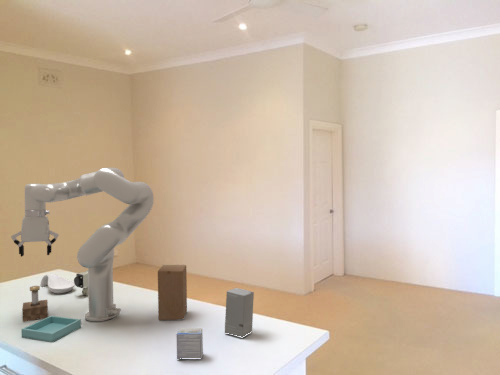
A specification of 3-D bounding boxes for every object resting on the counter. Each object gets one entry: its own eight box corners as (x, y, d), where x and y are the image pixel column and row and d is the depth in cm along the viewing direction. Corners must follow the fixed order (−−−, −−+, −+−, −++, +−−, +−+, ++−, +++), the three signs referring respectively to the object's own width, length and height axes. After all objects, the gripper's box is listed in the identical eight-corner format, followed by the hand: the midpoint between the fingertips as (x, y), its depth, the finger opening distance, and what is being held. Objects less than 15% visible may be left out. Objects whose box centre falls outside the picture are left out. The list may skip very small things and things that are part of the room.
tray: (80, 327, 156) (80, 319, 156) (52, 342, 143) (52, 333, 143) (51, 323, 160) (51, 315, 160) (21, 337, 147) (21, 329, 147)
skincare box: (224, 334, 148) (223, 291, 147) (235, 327, 154) (235, 286, 153) (243, 339, 144) (243, 295, 143) (254, 332, 149) (254, 290, 149)
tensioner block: (47, 311, 174) (47, 299, 174) (48, 317, 166) (47, 305, 166) (23, 314, 170) (23, 302, 170) (22, 321, 162) (22, 309, 162)
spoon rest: (79, 291, 202) (79, 277, 202) (56, 297, 193) (55, 282, 192) (55, 283, 216) (54, 270, 216) (32, 288, 207) (32, 274, 207)
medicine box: (203, 353, 133) (202, 327, 133) (201, 360, 129) (201, 333, 128) (178, 354, 133) (178, 328, 132) (176, 360, 128) (176, 333, 128)
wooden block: (183, 320, 162) (182, 270, 161) (158, 320, 162) (157, 270, 161) (187, 311, 172) (186, 264, 171) (163, 311, 172) (162, 264, 171)
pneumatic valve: (101, 292, 199) (101, 268, 198) (79, 299, 190) (78, 273, 189) (95, 290, 202) (94, 266, 202) (73, 296, 193) (72, 271, 192)
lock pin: (42, 315, 169) (41, 286, 168) (35, 318, 166) (34, 288, 165) (35, 314, 170) (34, 285, 169) (28, 317, 167) (27, 287, 166)
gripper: (59, 212, 174) (59, 252, 174) (13, 213, 168) (13, 254, 168) (57, 214, 167) (57, 256, 167) (9, 215, 161) (9, 258, 161)
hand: (35, 255), depth 168 cm, fingers open, 9 cm apart
